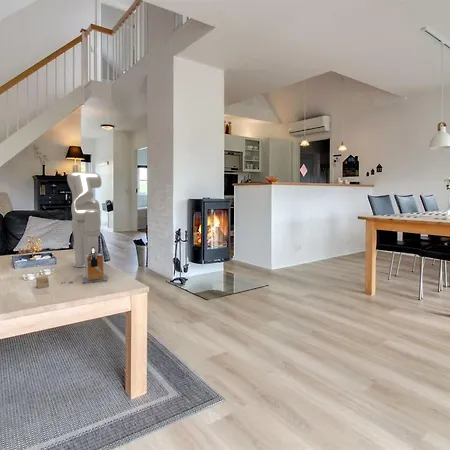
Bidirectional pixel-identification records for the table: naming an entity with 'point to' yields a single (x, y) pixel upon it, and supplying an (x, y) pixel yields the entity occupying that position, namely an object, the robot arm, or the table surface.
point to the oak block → (42, 281)
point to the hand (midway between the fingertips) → (94, 264)
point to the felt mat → (94, 280)
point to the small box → (94, 268)
